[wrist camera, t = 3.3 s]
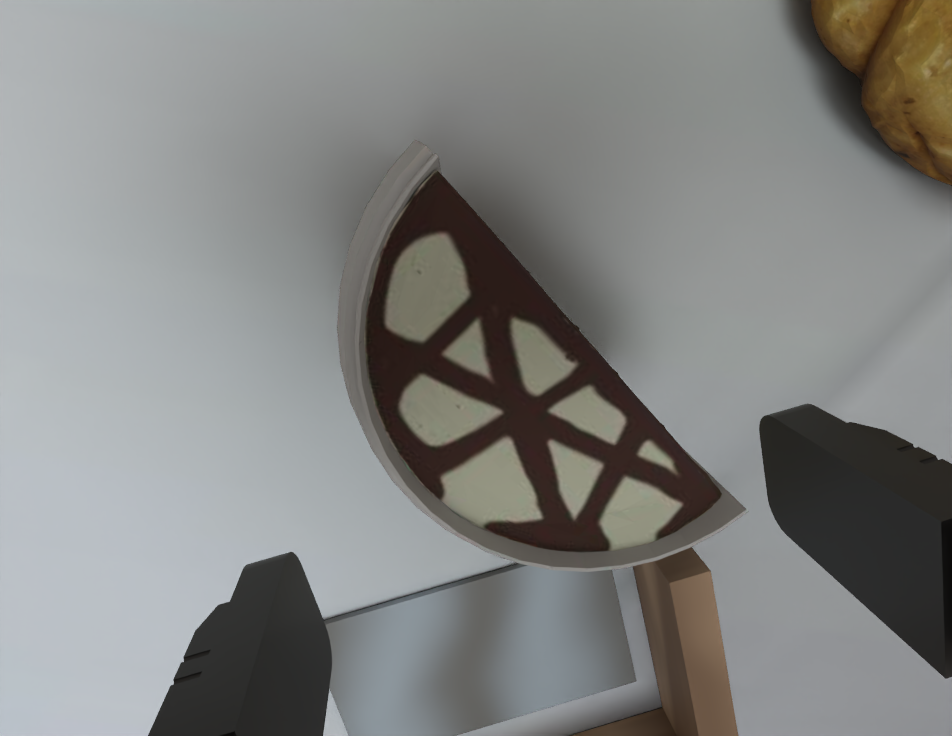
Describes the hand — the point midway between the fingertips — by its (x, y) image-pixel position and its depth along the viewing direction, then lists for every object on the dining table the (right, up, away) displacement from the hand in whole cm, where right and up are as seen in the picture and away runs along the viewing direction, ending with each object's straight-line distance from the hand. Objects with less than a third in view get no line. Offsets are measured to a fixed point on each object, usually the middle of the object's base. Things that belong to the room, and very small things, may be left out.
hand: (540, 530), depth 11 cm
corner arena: (-2, -11, +18) cm, 21 cm away
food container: (-1, +4, +14) cm, 14 cm away
